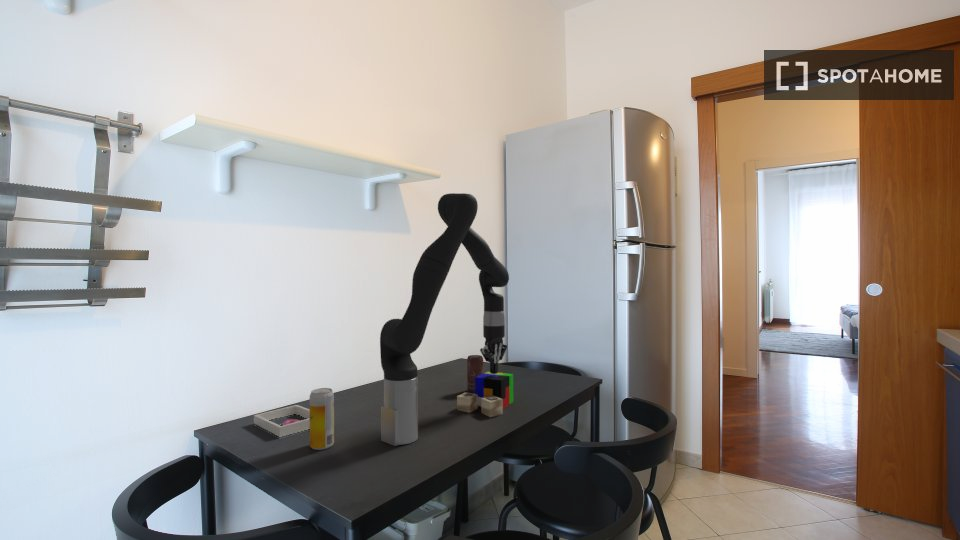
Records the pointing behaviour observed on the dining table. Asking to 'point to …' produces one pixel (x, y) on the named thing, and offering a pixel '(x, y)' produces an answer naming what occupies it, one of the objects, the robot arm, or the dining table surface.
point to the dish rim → (285, 429)
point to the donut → (290, 421)
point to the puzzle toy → (495, 387)
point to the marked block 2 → (492, 406)
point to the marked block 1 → (467, 402)
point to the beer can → (321, 418)
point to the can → (473, 371)
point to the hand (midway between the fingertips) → (494, 373)
